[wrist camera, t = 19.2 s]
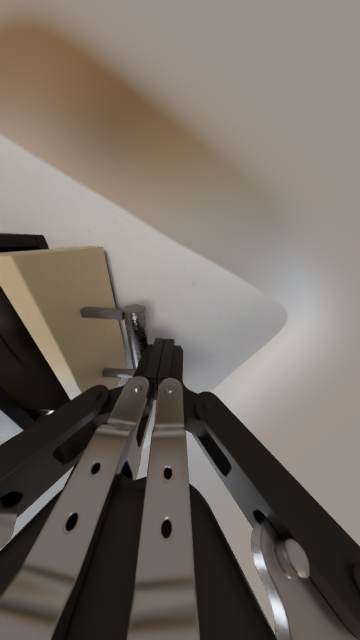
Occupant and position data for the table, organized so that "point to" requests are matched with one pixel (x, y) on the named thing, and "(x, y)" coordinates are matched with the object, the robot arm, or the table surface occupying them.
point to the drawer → (62, 327)
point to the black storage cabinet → (3, 410)
